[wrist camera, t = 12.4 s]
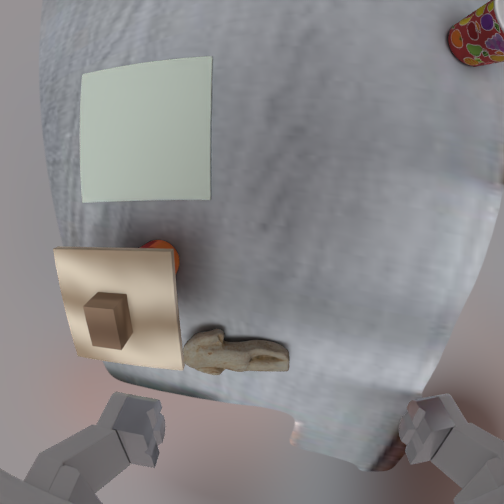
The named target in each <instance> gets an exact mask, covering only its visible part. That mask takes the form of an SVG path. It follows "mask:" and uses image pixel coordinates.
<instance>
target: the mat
mask: <svg viewBox="0 0 504 504" xmlns="http://www.w3.org/2000/svg"><path fill="white" fill-rule="evenodd" d="M212 61H213V57H212V56H206V57H192V58H180V59H170V60H161V61H153V62H146V63H139V64H133V65H127V66H121V67H115V68H110V69H105V70H100V71H96V72H91V73H87V74H82V85H81V104H80V172H81V191H82V203H90V202H114V201H149V200H211V96H212Z"/></svg>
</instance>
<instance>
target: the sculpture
mask: <svg viewBox="0 0 504 504" xmlns="http://www.w3.org/2000/svg"><path fill="white" fill-rule="evenodd" d="M223 339H224V332H223V331H222V330H220V329H214V330H211V331H206V332H200V333H197V334H195V335H194V336H193V337H192V338H191V339H190V340H188V341H187V343H186V344H185V345H184V348H183V353H184V355H183V356H184V363H185V364H186V365H188V366H189V367H192V368H195V369H196V370H198V371H201V372H204V373H207V374H211V375H219V374H221V373H222V372H223V371H224V370H225V369H229V370H232V371H237V372H243V371H288V370H289V352H288V350H287V349H285V348H284V347H283V346H282V345H280V344H277V343H274V342H271V341H266V340H250V341H244V342H227V341H223Z"/></svg>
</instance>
